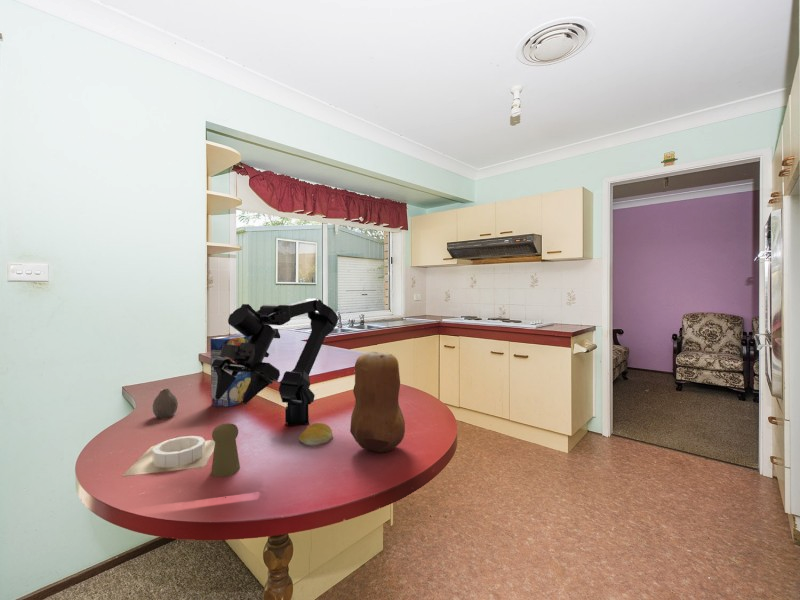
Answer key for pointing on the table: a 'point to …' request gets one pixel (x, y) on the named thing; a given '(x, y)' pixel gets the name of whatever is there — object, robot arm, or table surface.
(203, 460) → the oak board
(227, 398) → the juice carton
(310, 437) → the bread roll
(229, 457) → the cork
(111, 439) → the table surface
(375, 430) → the butternut squash
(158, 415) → the brown fig
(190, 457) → the cream collar
